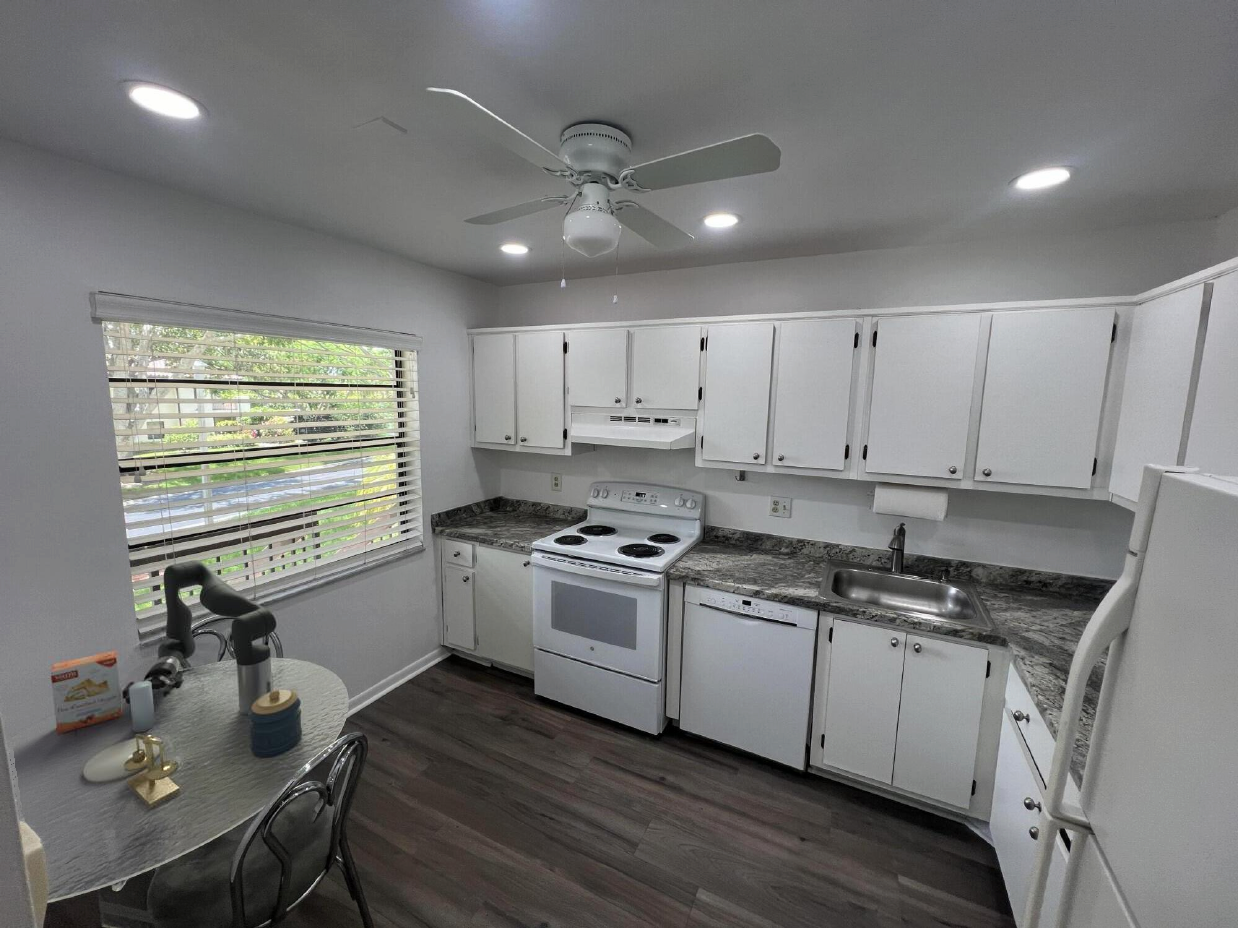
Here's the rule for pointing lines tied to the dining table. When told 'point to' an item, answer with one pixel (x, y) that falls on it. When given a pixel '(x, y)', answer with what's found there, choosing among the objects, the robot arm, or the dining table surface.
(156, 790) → the brass balance
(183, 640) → the robot arm
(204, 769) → the dining table surface
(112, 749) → the cream plate
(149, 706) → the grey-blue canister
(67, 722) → the cracker box
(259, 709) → the canister
